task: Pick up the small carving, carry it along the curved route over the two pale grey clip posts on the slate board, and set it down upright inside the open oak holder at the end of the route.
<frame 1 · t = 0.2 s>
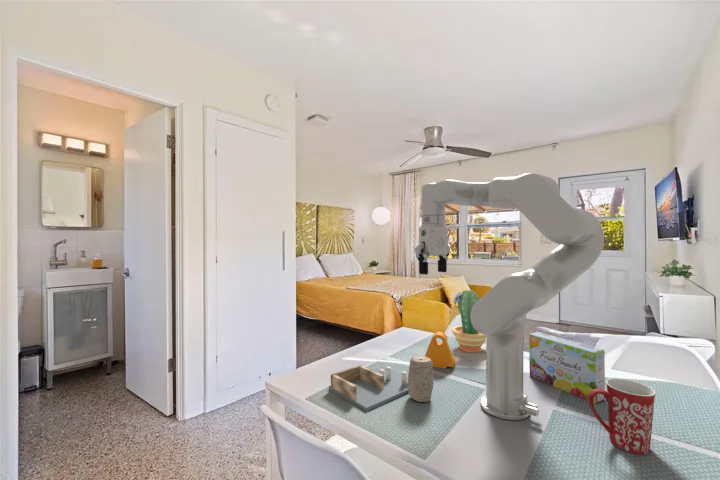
hand: (433, 273, 111), 36 cm above the table, tool pointing down, fingers open, 9 cm apart
potted cactus: (470, 349, 144), on the table
bracket: (439, 364, 127), on the table
carving: (420, 399, 100), on the table
end holder: (357, 388, 105), resting on route board
route board: (376, 387, 107), on the table
snack box: (564, 388, 107), on the table
mug: (620, 444, 78), on the table
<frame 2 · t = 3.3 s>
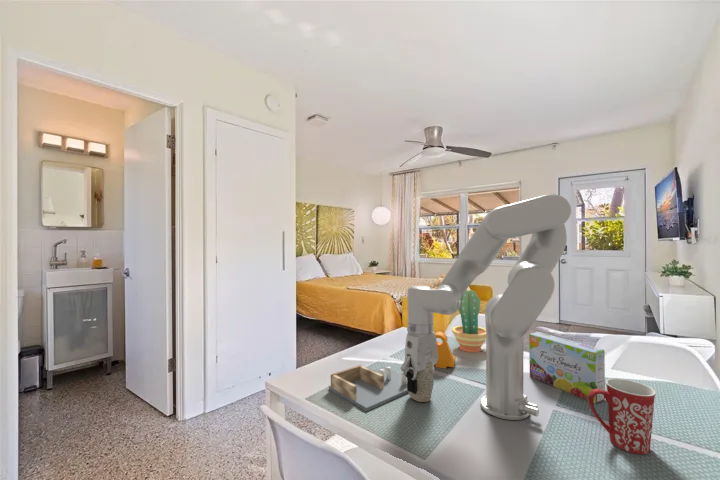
hand: (420, 387, 100), 3 cm above the table, tool pointing down, fingers closed on carving, 6 cm apart
carving: (420, 399, 100), on the table, touching gripper
everything else where it was.
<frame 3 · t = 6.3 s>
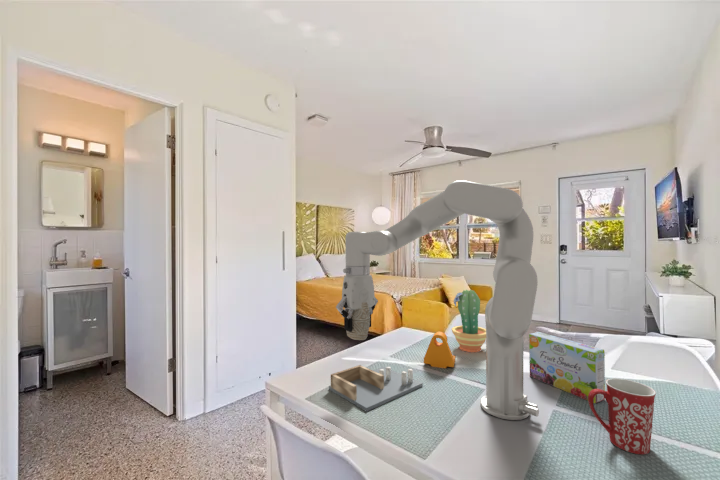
hand: (358, 328, 105), 20 cm above the table, tool pointing down, fingers closed on carving, 6 cm apart
carving: (358, 339, 105), point 16 cm above the table, touching gripper
everything else where it was.
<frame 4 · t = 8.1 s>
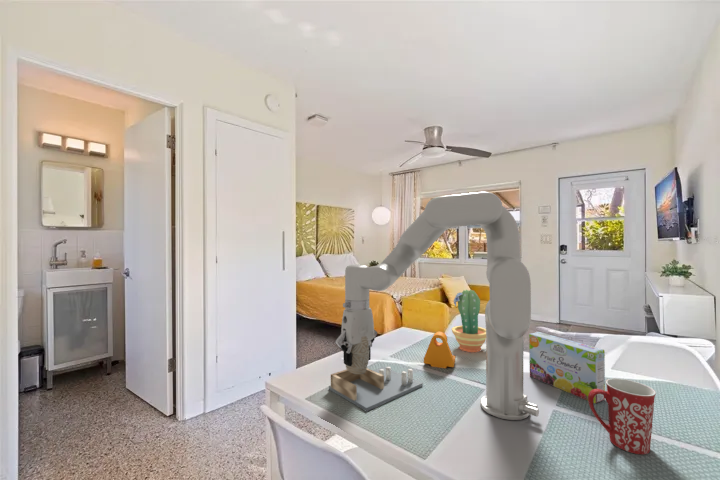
hand: (357, 361, 105), 9 cm above the table, tool pointing down, fingers closed on carving, 6 cm apart
carving: (357, 372, 105), point 6 cm above the table, touching gripper
everything else where it was.
when the fingers open (6 cm above the table, at t = 9.3 s): carving drops 2 cm, resting on route board.
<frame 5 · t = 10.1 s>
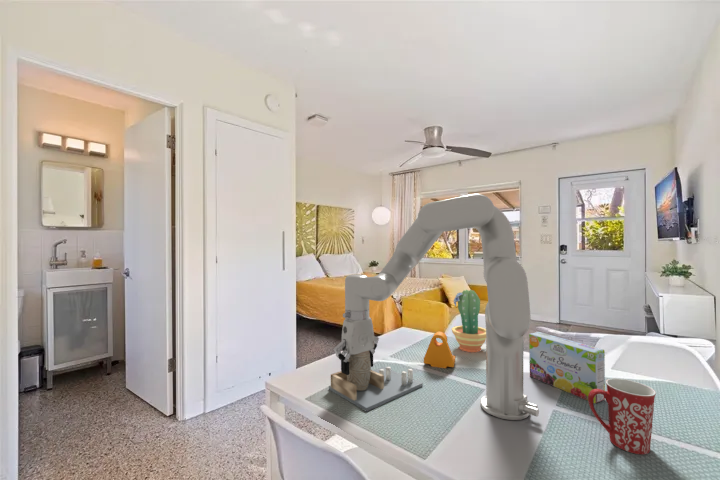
hand: (357, 369, 105), 7 cm above the table, tool pointing down, fingers open, 9 cm apart
carving: (358, 388, 105), point 1 cm above the table, touching route board
everything else where it was.
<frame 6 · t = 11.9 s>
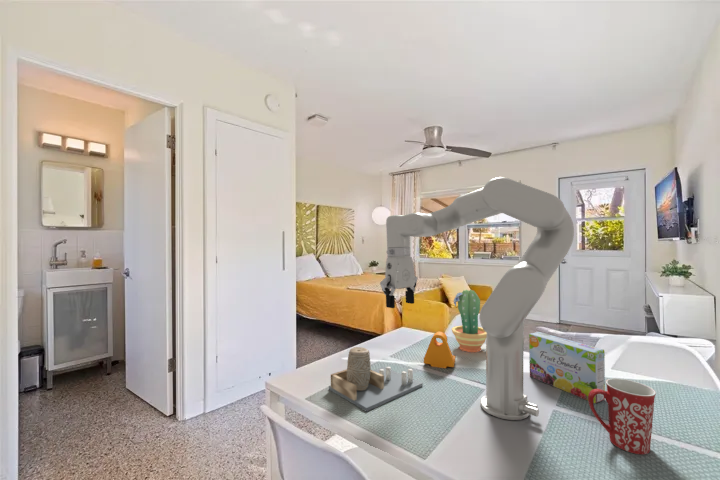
hand: (400, 305, 110), 26 cm above the table, tool pointing down, fingers open, 9 cm apart
nothing on the table moved.
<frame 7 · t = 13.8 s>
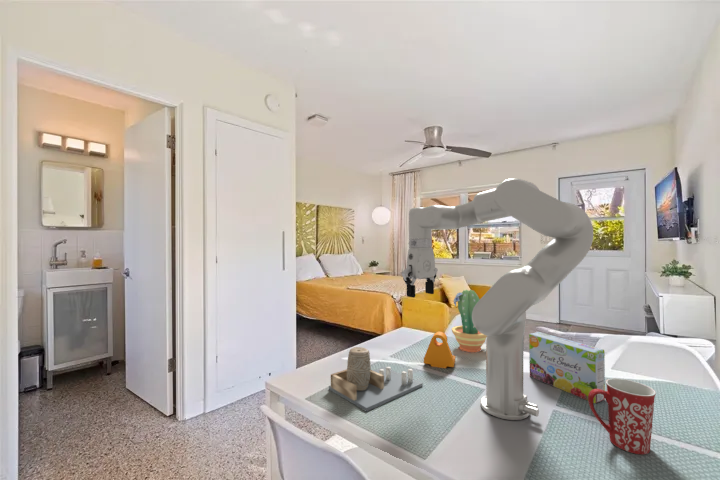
hand: (420, 295, 113), 28 cm above the table, tool pointing down, fingers open, 9 cm apart
nothing on the table moved.
at the end: carving inside the target area on the end holder (0.3 cm from its centre), point 0.0 cm above the end holder's base; carving tilted 0°; the gripper is holding nothing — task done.
